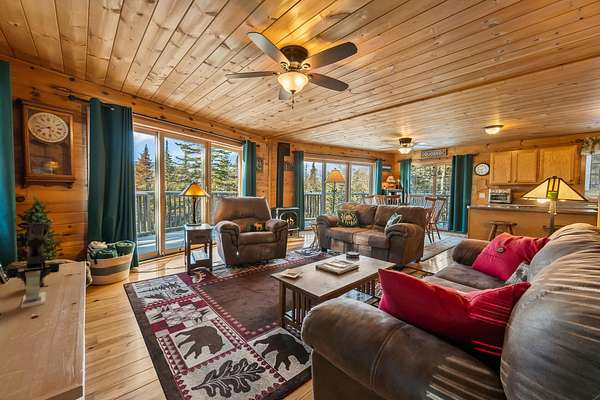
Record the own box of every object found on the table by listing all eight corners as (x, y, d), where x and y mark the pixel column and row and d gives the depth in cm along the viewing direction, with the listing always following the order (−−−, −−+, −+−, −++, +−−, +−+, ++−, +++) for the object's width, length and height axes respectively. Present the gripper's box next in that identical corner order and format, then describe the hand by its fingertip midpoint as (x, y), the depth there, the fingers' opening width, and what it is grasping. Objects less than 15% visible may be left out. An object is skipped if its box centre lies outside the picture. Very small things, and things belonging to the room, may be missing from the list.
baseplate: (23, 297, 131) (24, 295, 131) (45, 293, 136) (45, 291, 136) (21, 308, 119) (21, 305, 119) (44, 303, 125) (44, 300, 125)
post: (26, 296, 125) (27, 272, 125) (39, 294, 129) (40, 270, 128) (25, 299, 122) (26, 274, 122) (38, 297, 125) (39, 272, 125)
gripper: (7, 252, 121) (2, 280, 114) (59, 248, 135) (59, 273, 127) (9, 264, 127) (4, 292, 119) (59, 259, 140) (58, 283, 133)
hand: (32, 284), depth 124 cm, fingers closed on post, 4 cm apart
